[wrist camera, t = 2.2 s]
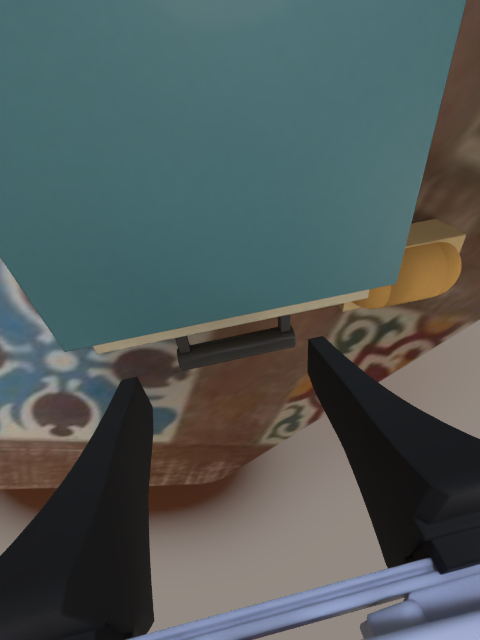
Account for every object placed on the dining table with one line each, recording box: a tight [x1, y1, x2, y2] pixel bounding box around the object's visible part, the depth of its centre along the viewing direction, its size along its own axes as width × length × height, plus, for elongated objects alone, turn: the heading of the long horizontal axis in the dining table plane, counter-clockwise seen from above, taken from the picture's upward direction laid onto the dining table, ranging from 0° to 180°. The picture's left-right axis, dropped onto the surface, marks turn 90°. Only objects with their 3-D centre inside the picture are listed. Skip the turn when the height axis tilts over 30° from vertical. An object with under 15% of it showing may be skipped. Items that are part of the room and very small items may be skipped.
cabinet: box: [0, 0, 466, 352], centre depth 11 cm, size 16×14×9 cm
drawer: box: [93, 290, 369, 371], centre depth 13 cm, size 19×12×7 cm, turn 6°
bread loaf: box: [338, 219, 466, 312], centre depth 21 cm, size 8×4×4 cm, turn 96°
